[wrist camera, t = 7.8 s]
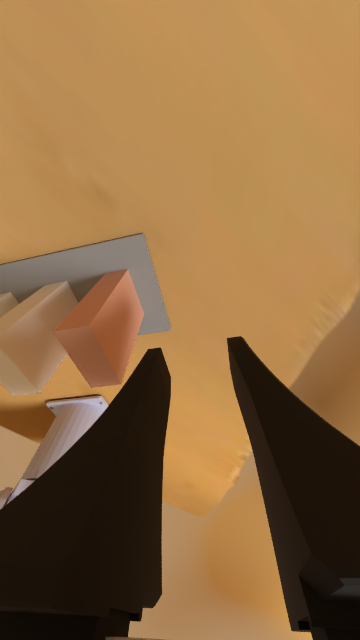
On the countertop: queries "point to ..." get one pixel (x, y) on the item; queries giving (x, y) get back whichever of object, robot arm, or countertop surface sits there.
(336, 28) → the countertop surface
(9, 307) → the domino
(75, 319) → the domino
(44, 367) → the domino
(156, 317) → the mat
